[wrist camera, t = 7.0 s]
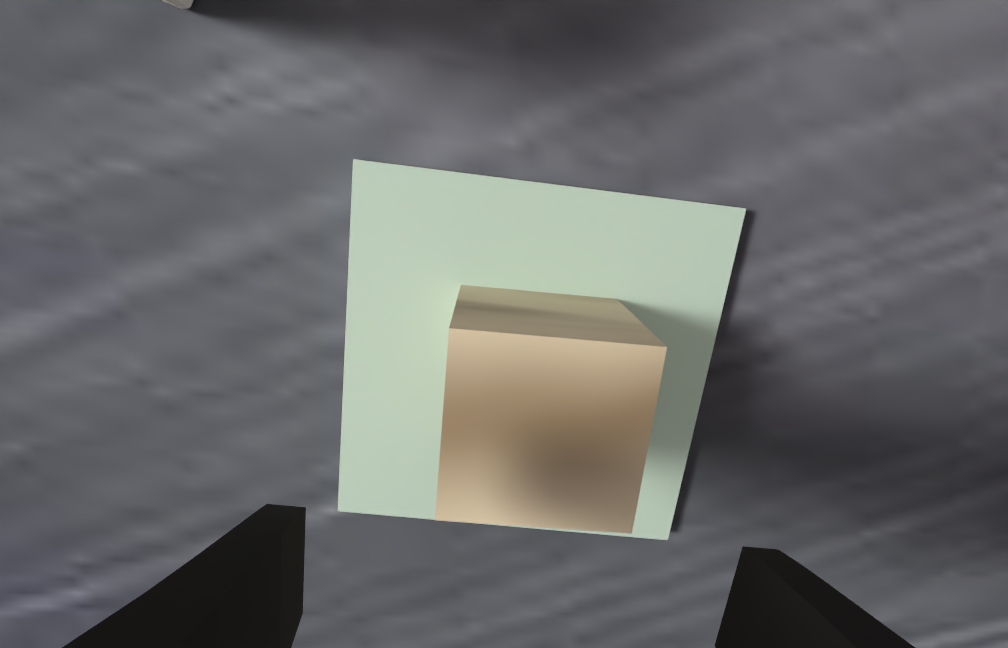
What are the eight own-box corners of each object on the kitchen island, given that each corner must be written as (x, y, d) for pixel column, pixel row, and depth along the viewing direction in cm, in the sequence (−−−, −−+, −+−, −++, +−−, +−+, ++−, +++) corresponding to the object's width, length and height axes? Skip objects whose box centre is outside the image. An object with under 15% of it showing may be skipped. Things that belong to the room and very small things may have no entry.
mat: (662, 529, 20) (667, 540, 19) (342, 501, 19) (337, 511, 19) (737, 207, 17) (746, 208, 16) (357, 159, 16) (353, 159, 16)
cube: (594, 439, 18) (631, 533, 13) (449, 428, 18) (434, 520, 13) (616, 299, 17) (667, 347, 12) (460, 284, 17) (449, 328, 12)
